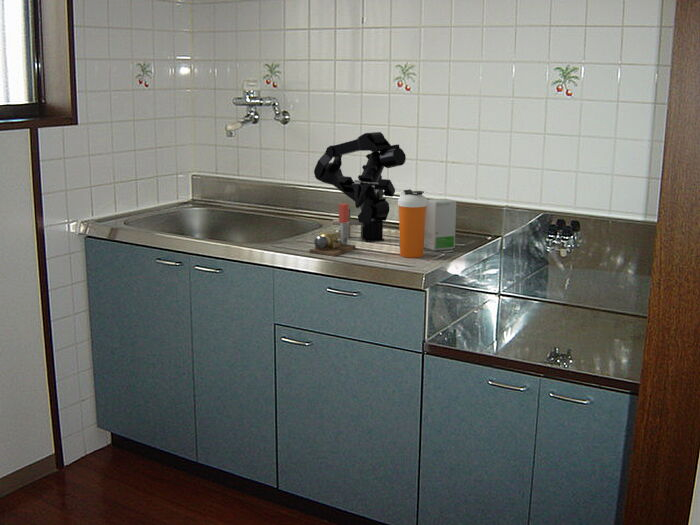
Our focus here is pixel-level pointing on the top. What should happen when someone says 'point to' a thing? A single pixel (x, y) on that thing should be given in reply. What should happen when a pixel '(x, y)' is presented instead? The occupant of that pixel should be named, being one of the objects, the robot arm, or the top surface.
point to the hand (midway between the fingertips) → (356, 207)
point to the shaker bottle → (412, 223)
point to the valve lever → (343, 223)
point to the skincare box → (440, 224)
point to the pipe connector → (348, 223)
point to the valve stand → (330, 244)
